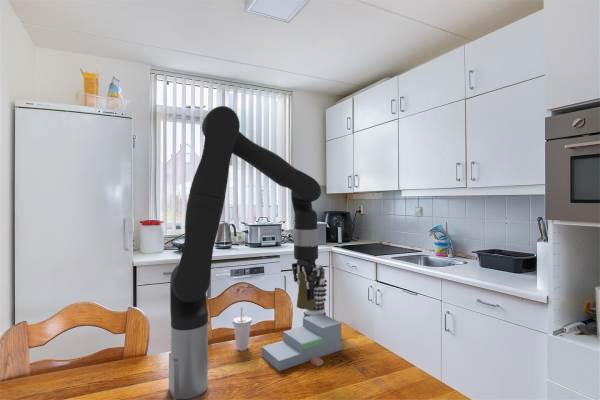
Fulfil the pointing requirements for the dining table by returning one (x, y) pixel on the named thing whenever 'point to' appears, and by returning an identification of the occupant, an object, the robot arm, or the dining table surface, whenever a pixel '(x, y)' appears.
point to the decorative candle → (318, 296)
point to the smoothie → (242, 331)
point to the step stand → (305, 342)
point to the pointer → (316, 361)
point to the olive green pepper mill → (304, 293)
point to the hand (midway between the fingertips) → (306, 298)
